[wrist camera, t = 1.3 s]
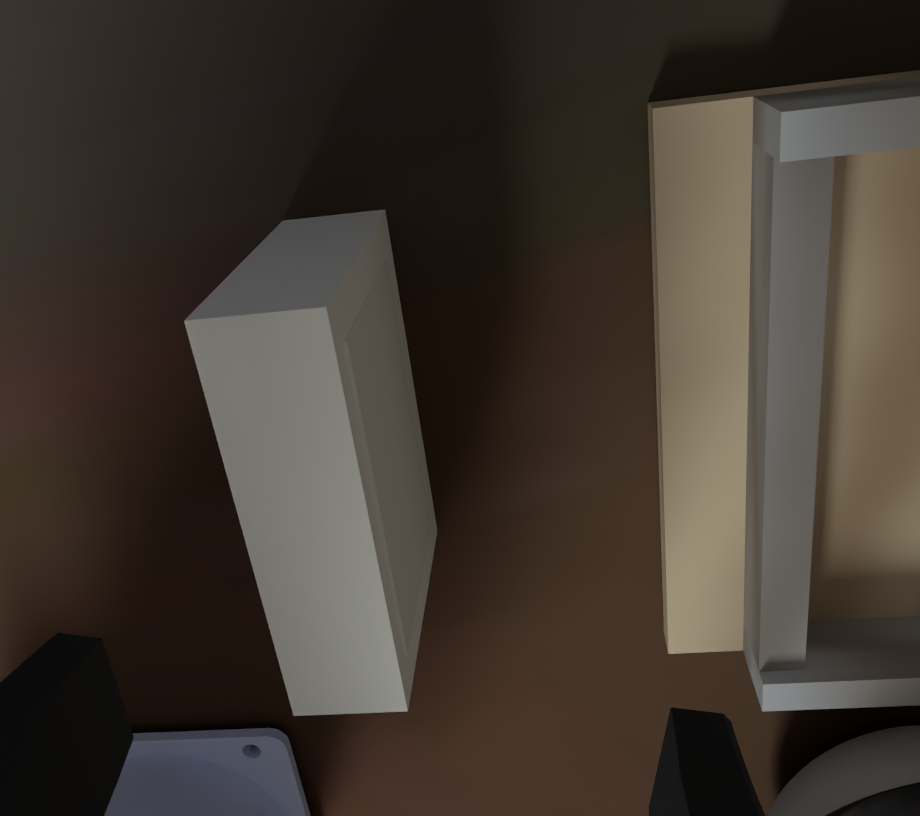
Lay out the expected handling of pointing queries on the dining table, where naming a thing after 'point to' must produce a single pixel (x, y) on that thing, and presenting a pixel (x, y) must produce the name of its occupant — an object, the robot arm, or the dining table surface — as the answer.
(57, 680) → the robot arm
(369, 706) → the door panel
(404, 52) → the dining table surface
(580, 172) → the dining table surface
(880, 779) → the egg shaped speaker
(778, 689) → the door frame
